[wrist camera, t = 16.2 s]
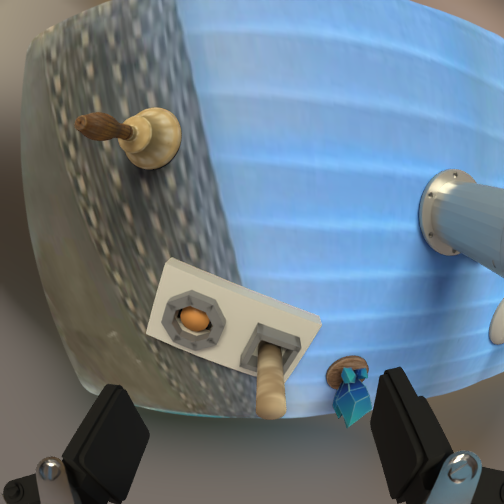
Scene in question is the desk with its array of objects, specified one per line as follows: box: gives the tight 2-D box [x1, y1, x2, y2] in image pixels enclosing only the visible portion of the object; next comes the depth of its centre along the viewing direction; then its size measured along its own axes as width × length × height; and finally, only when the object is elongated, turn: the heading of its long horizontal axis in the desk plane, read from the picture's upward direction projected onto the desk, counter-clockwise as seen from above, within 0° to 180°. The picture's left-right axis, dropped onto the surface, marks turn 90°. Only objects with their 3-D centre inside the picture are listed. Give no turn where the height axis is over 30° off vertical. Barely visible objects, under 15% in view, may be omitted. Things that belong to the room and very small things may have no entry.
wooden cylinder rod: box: [256, 340, 286, 420], centre depth 32 cm, size 3×3×12 cm
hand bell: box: [75, 108, 181, 169], centre depth 25 cm, size 8×8×16 cm
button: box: [180, 306, 210, 331], centre depth 38 cm, size 4×4×2 cm
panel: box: [146, 257, 322, 383], centre depth 38 cm, size 22×12×5 cm, turn 68°
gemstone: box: [326, 356, 372, 428], centre depth 36 cm, size 7×9×12 cm
